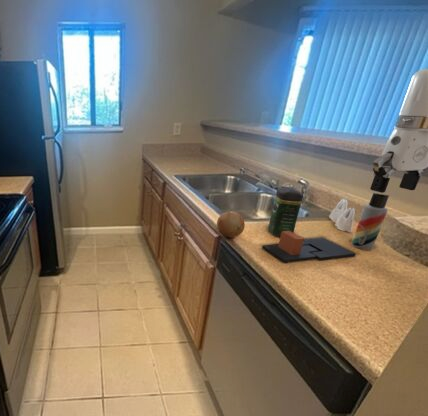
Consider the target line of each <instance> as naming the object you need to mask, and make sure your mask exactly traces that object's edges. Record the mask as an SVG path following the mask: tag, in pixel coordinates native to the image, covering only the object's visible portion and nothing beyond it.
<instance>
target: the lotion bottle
mask: <svg viewBox="0 0 428 416" xmlns="http://www.w3.org/2000/svg"><path fill="white" fill-rule="evenodd" d="M389 197H390V195H389V194H384V193H379V192H373V193H372V196H371V198H370V199H369V203H368V204H365V205H364V207H363V210H362V212H361V216H360V218H359V221H358V223H357V227H356V229H355V232H354V234H353V237H352V241H351V246H352V247H353V248H356V249H359V250H362V251H371V250H373V249H374V246H375V243H376V241H377V238H378V236H379V233H380V231H381V228H382V225H383V223H384V221H385V219H386V216H387V213H388V208H387V207H386V205H387V203H388V200H389Z"/></svg>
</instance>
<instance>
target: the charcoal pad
mask: <svg viewBox="0 0 428 416" xmlns="http://www.w3.org/2000/svg"><path fill="white" fill-rule="evenodd" d="M304 245H309V246H311V247H313V248H315V249H317V250H318V252H311V253H312V254H313V255H315V256H316V259H315V260H317V261H318V262H321V261H329V260H337V259H338V260H339V259H344V258H345V259H347V258H353V257H356V254H357V253H356V252H354V251H352V250H350V249H348V248H346V247H343V246H341V245H339V244H338V243H335V242H333V241H332V240H329V239H328V238H325V237H323V236H322V237H313V238H304V240H303V244H302V246H304Z"/></svg>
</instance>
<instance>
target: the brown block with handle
mask: <svg viewBox="0 0 428 416" xmlns="http://www.w3.org/2000/svg"><path fill="white" fill-rule="evenodd" d="M304 239H305V238H304V237H302V236H300V235H298V234H296V233H293V232H291V231H282V233H281V237H279V241H278V243H271V244H262V245H261V249H262V250H263V251H265V252H266V253H268V254H270V255H271V256H272V257H274V258H275V259H277V260H279V261H280V262H281V263H283V264H289V263H297V262H304V261H305V262H306V261H313V260H317V259H316V256H315V255H313V254H312V253H311V252H318V250H317V249H315V248H313V247H311V246H309V245H304V246H302V244H303V240H304Z"/></svg>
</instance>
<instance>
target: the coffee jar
mask: <svg viewBox="0 0 428 416" xmlns="http://www.w3.org/2000/svg"><path fill="white" fill-rule="evenodd" d="M303 199H304V194H303V192H301V191H299V190H298V189H296V188H294V187H293V186H282V185H281V187H278V188H277V190H276V192H275V196H274V202H273V207H272V211H271V214H270V219H269V221H268V222H269V223H268V227H267V230H268V232H269V233H270V235H272V236H273V237H278V238H280V237H281V233H282V231H291V232H293V233H294V232H295V228H296V224H297V220H298V218H299V217H298V216H299V213H300V209H301V205H302V203H303Z"/></svg>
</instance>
